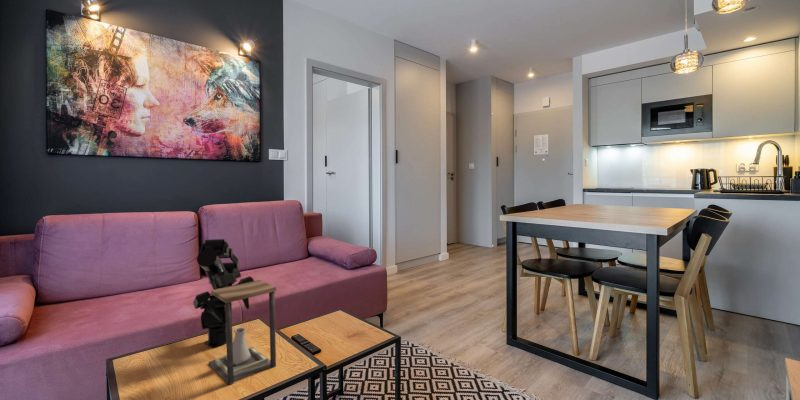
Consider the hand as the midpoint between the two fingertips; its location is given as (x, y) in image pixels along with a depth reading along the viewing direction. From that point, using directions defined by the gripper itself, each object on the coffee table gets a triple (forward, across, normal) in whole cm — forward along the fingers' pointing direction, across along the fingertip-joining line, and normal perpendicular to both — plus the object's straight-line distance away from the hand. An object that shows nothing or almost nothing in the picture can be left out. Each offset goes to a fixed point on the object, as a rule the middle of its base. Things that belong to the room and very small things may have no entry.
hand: (234, 314), depth 121 cm
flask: (+13, -4, +2) cm, 14 cm away
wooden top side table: (+15, -4, +1) cm, 16 cm away
